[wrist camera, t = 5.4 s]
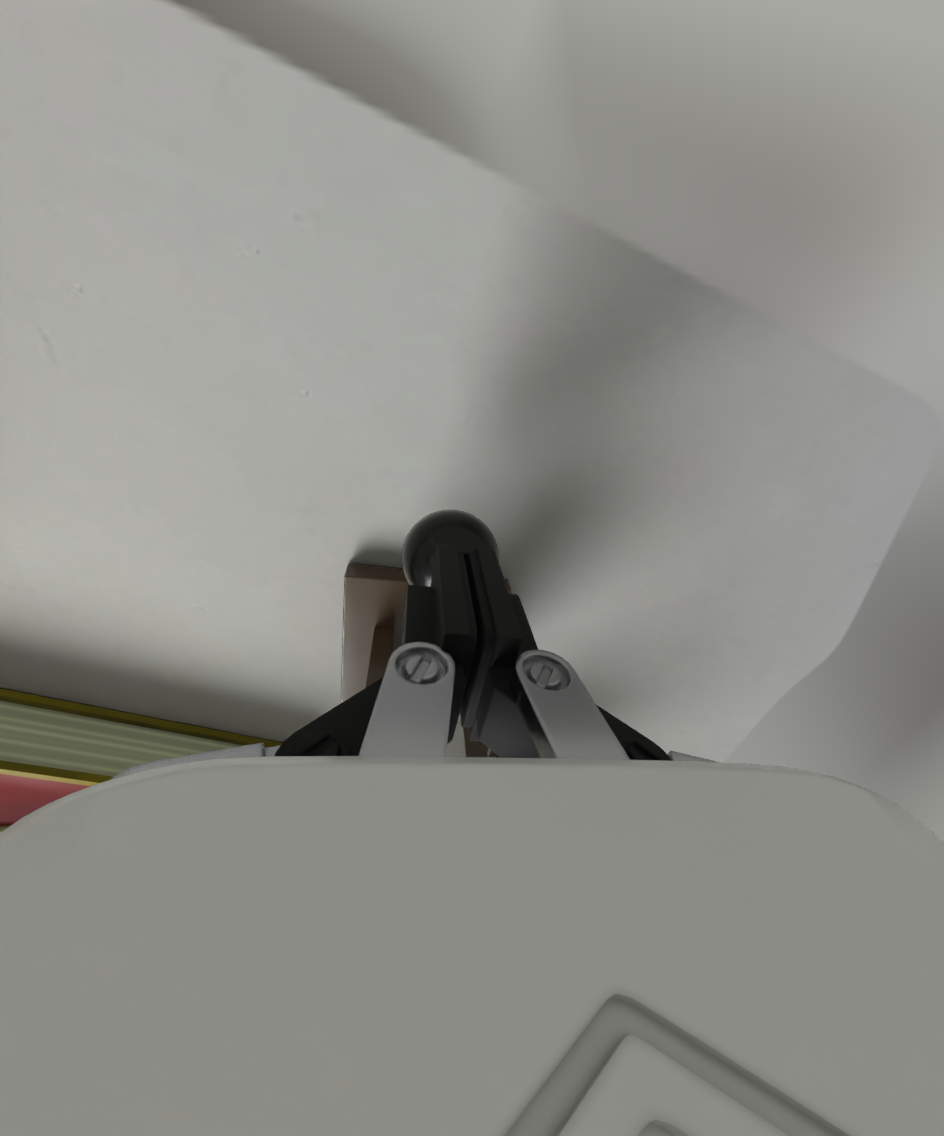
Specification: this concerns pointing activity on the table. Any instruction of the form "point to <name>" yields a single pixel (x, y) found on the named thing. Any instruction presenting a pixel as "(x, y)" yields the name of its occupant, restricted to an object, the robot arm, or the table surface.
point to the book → (83, 748)
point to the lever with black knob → (442, 542)
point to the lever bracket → (382, 637)
